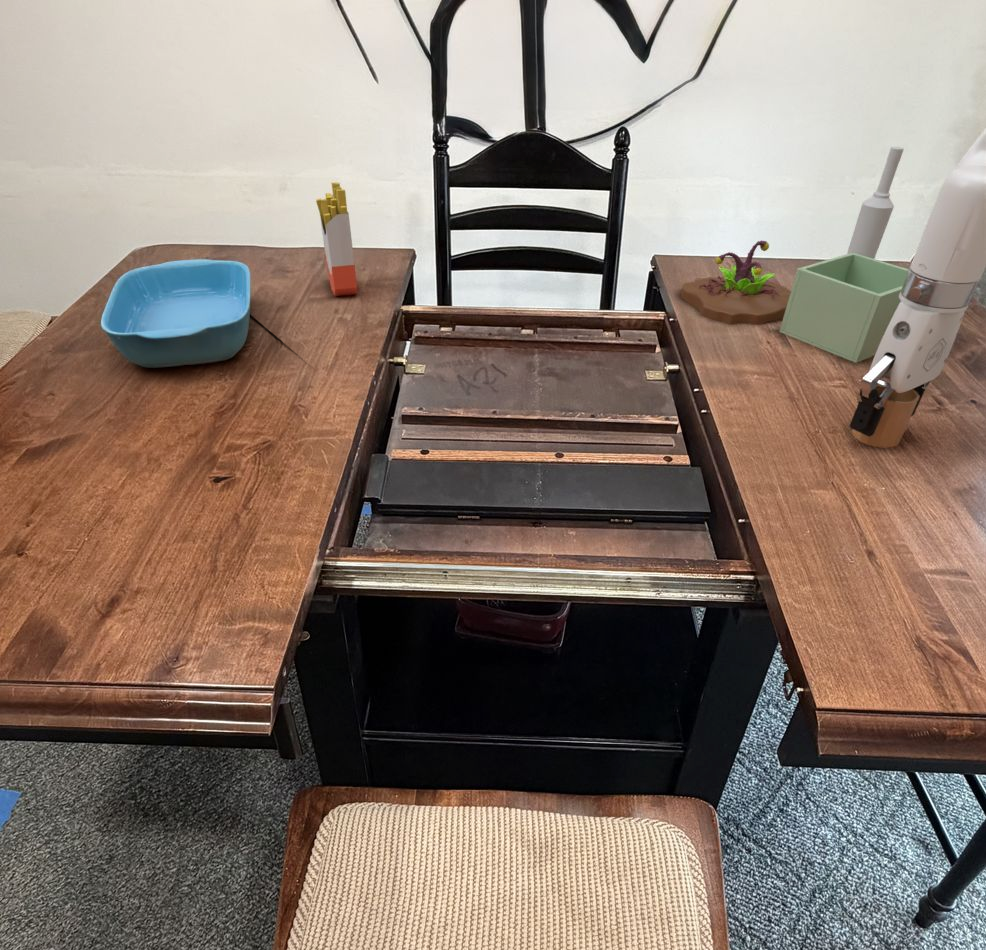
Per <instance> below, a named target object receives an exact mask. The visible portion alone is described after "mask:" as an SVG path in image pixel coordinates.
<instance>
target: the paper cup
mask: <svg viewBox="0 0 986 950" xmlns="http://www.w3.org/2000/svg"><path fill="white" fill-rule="evenodd" d="M887 382H888V383H890V384H891V381H887ZM875 390H877V391H878V394H879V397H880V395H881V394H882V393H883V391H884V390H885V389H884V388H881V387H879V386H876V388H875ZM919 397H920V396H919V394H918V392H916V391H915V390H914V389H911V390H909V391H906V392H903V393H897V392H896V390H894V391H893V392H892V393H891V395H890V396H889V397H888V399H887V400H886V401H885V403H884V404H883V406H882V407H883V408H885V409H884V411H883V413H882V416H881V418H880V421H879V423H878V425H877V428H876V430H875V432H874V434H873V435H872V436H867V435H864V434H862V433H860V432H858V431H856V430H854V429H852V431H851V433H852V436H853V437H854V438H855V439H856V440H857V441H859V442H861V443H863V444H865V445H867V446H872V447H876V448H883V449H887V448H894V447H896V446H898V445H900V442H901V440H902V437H903V435H904V433H905V431H906V428H907V426H908V424H909V422H910V420H911V417H912V416H911V415H912V413H913V411H914V409H915V406H916V404H917V402H918V400H919Z"/></svg>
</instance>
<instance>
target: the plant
mask: <svg viewBox="0 0 986 950" xmlns="http://www.w3.org/2000/svg"><path fill="white" fill-rule="evenodd" d="M758 246H759V248H760V250H761V251H763V252H766V251H768V250H769V248H770V244H769V242H768V241H767V240H758V241H757V242H756V243H754V245H752V247H751V248H750V250H749V252H748V253H747V256H746V258H745V261H744V262H743V261H742V259H741V258H740V256H738V254H736V253H733V252H730V251H729V252H725V253H723V254H720V255H719V256H717V257H716V258H715V263H716V264H717V266H718V265H721V264H723V262H724V260H725V258H726V257H732V258H733V260H734V263H735V265H734V264H732V265H731V267H730V270H731V271H730V270H729V269H728V268H726V267H724V266H719V270H720V271H721V273H722V274H723V276H720V275H717V277H714V276H708V277H697V278H695V279H694V281H691V282H684V283H683V284H682V286H681V291H680V299H681V300H682V301H684V302H686V303H687V304H689V305H691V306H692V307H694V308H695V309H696V310H697V311H698V312H699V313H700V315H701V316H702V317H704V318H708V319H710V320H712V321H717V322H721V323H725V324H728V325H735V324H749V325H754V326H755V325H764V324H768V323H774V322H778V321H783V318H784V314H785V311H786V307H787V304H788V300H789V297H790V293H791V290H790V289H788V288H787V287H785V286H783V285H779V284H777V283H774V282H773V281H770V279H771V278H772V277H774V276H775V275H776V274H775V273H774V272H772V273H765V274H763V275H761V274H762V272H763V268H762V267H763V266H762V265H761V263H760V262H757V261H753V257H754V255H755V252H756V250H757V248H758ZM752 261H753V262H752ZM759 275H761V276H759Z"/></svg>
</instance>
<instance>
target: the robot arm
mask: <svg viewBox="0 0 986 950" xmlns="http://www.w3.org/2000/svg"><path fill="white" fill-rule="evenodd" d="M939 189H940V190H939V192H938V195H937V197H936V200H935V202H934V205H933V208H932V210H931V212H930V215H929V217H928V220H927V222H926V225H925V227H924V230H923V233H922V234H921V238H920V239H919V243H918V245H917V248H916V250H915V253H914V256H913V258H912V262H911V263H910V267H909V268H908V269H909V271H908V274H907V276H906V279H905V281H904V284H903V286H902V289H901V291H900V294H899V299H900V300H901V302H900V304H899V305H898V307H897V309H896V311H895V313H894V315H893V317H892V319H891V321H890V323H889V325H888V327H887V329H886V331H885V334H884V336H883V338H882V340H881V342H880V345H879V347H878V349H877V352H876V354H875V356H873V360H872V362H871V365H870V367H869V371H868V372H867V373H866V374H865V375H864V376H863V377H862V379H861V382H860V383H861V384H860V389H859V396H858V404H857V405H856V408H855V411H854V413H853V417H852V419H851V421H850V423H849V428H850V429H852V430H853V429H854V430H856V431H858V432H860V433H862V434H864V435H867V436H872V435H873V434H874V432H875V430H876V428H877V425H878V423H879V421H880V418H881V416H882V413H883V411H884V409H885V408H883V407H882V406H883V404H884V403H885V401H886V400H887V399H888V397H889V396H890V395H891V393H892V392H893V391H894V390H896V392H897V393H903V392H906V391H909V390H911V389H914V390H915V391H916V392H918V394H919V396H920V397H919V400H918V402H917V404H916V406H915V409H914V411H913V413H912V415H911V417H913V416H914V415H915V413H916V411H917V409H918V407H919V405H920V402H921V400H922V398H923V395H924V394H925V391H926V388H927V387H928V386H929V385H930V383H931V381H933V380H934V379H936V378H938V377H939V376H940V374H941V373H942V372H943V369H944V367H945V364H946V362H947V361H948V357H949V355H950V353H951V350H952V348H953V346H954V343H955V340H956V338H957V335H958V333H959V331H960V328H961V324H962V323H963V322H962V321H963V319H964V315H965V312H966V311H967V309H968V307H969V306H970V303H971V300H972V298H973V296H974V294H975V292H976V290H977V288H978V286H979V284H980V281H981V279H982V276H983V274H984V272H985V270H986V127H984V129H983V130H982V131H981V133H980V134H979V135H978V137H977V138H976V139H975V141H973V143H972V144H971V145H970V147H969V148H968V150H967V151H966V152H965V153H964V155H963V156H962V158H961V159H960V160H959V161H958V163H957V165H956V166H955V168H954V169H952V171H950V172H949V173H948V174H947V175H946V177H945V179H944V180H943V183H942V185H941V187H940V188H939ZM883 378H884V379H887V380H889V381H885V380H883ZM888 382H891V384H890V383H888ZM876 386H879V387H881V388H884V389H885V390H884V391H883V393H882V394H881V395H880V397H879V394H878V391H877V390H875V388H876Z"/></svg>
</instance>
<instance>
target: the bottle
mask: <svg viewBox="0 0 986 950" xmlns="http://www.w3.org/2000/svg"><path fill="white" fill-rule="evenodd" d="M904 150H905V147H900V146H891V147H890V148H889V152H888V155H887V158H886V162H885V165H884V168H883V171H882V174H881V176H880V180H879V183H878V186H877V189H876V190H875V191H874V192H873V194H872V195H871V196H869V197H868V198H867V199H866V200H864V201H863V202H862V203H861V207H860V210H859V213H858V216H857V220H856V223H855V225H854V230H853V233H852V236H851V240H850V242H849V246H848V250H847V253H846V254H849V253H856V254H859V255H863V256H866V257H869V258H873V259H876V255H877V253H878V250H879V247H880V245H881V242H882V239H883V236H884V234H885V232H886V229H887V226H888V223H889V221H890V218H891V215H892V213H893V211H894V208H895V205H894V203H893V201H892V200H891V198H890V196H891V194H890V189H891V187H892V184H893V181H894V178H895V176H896V172H897V170H898V167H899V165H900V162H901V159H902V156H903V153H904Z"/></svg>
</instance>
